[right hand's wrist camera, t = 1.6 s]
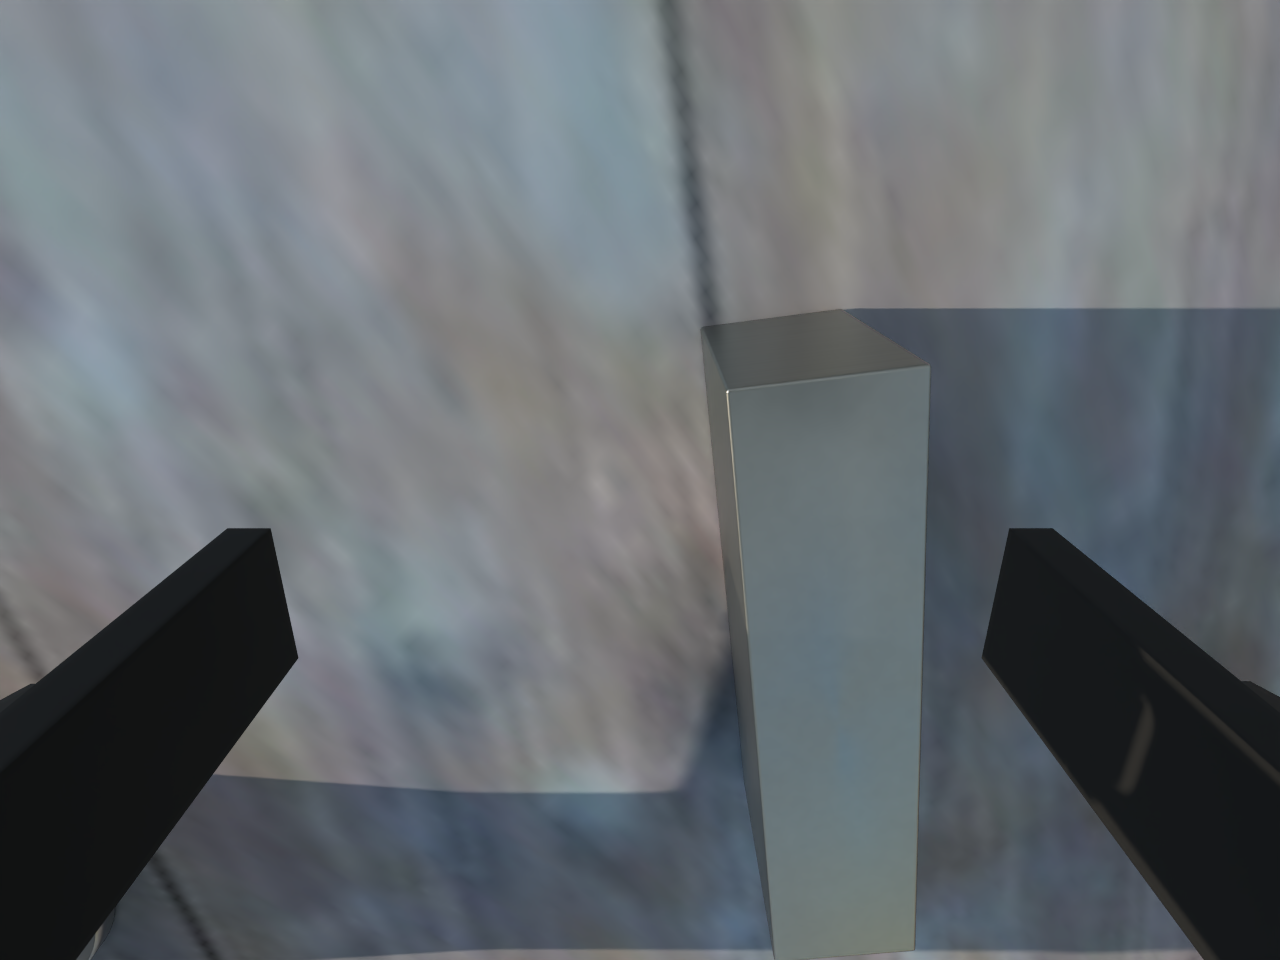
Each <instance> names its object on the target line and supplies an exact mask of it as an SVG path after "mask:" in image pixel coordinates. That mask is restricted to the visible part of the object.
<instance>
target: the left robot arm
mask: <svg viewBox="0 0 1280 960" xmlns="http://www.w3.org/2000/svg"><path fill="white" fill-rule="evenodd" d="M114 914H115V908H114V909H113V910H112V912H111V913H110V914H109V916H108V917H107V919H106V920H105V921H104V923H103V924H102V925H101V927H100V928H99V929H98V931H97V932H96V933H95V935H94V936H93V938H92V939H91V940H90V942H89V943H88V944H87V946H86V947H85V948H84V950H83V951H82V952H81V954H80V955H79V957H78V958H77V959H76V960H91V958H92V957H93V956H94V954H95V953H96V951H97V950H98V948H99V947H100V946H101V944H102V943H103V941H104V940H105V938H106V937H107V935H108V933H109V932H110V929H111V926H112V924H113V919H114Z"/></svg>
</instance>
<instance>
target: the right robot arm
mask: <svg viewBox="0 0 1280 960" xmlns="http://www.w3.org/2000/svg"><path fill="white" fill-rule="evenodd" d="M297 659H298V654H297V650H296V645H295V640H294V636H293V631H292V626H291V622H290V617H289V612H288V608H287V603H286V598H285V594H284V589H283V584H282V580H281V575H280V570H279V566H278V561H277V556H276V552H275V547H274V542H273V538H272V533H271V528H227V529H226V530H225V531H224V532H222V533H221V534H220V535H219V536H218V537H216V538H215V539H214V540H213V541H211V542H210V543H209V544H208V545H206V546H205V547H204V548H203V549H201V550H200V551H199V552H198V553H197V554H195V555H194V556H193V557H192V558H190V559H189V560H188V561H187V562H185V563H184V564H183V565H182V566H181V567H179V568H178V569H177V570H176V571H174V572H173V573H172V574H171V575H169V576H168V577H167V578H166V579H164V580H163V581H162V582H161V583H160V584H158V585H157V586H156V587H155V588H153V589H152V590H151V591H150V592H148V593H147V594H146V595H145V596H144V597H142V598H141V599H140V600H139V601H137V602H136V603H135V604H134V605H132V606H131V607H130V608H129V609H127V610H126V611H125V612H124V613H123V614H121V615H120V616H119V617H118V618H116V619H115V620H114V621H113V622H111V623H110V624H109V625H108V626H107V627H105V628H104V629H103V630H102V631H100V632H99V633H98V634H97V635H95V636H94V637H93V638H92V639H90V640H89V641H88V642H87V643H86V644H84V645H83V646H82V647H81V648H79V649H78V650H77V651H76V652H74V653H73V654H72V655H71V656H70V657H68V658H67V659H66V660H65V661H63V662H62V663H61V664H60V665H58V666H57V667H56V668H55V669H53V670H52V671H51V672H50V673H49V674H47V675H46V676H45V677H44V678H42V679H41V680H40V681H39V682H37V683H36V684H30V685H28V686H26V687H24V688H22V689H20V690H18V691H17V692H15V693H13V694H11V695H9V696H7V697H5V698H3V699H2V700H0V960H76V959H77V958H78V957H79V955H80V954H81V952H82V951H83V950H84V948H85V947H86V946H87V944H88V943H89V942H90V940H91V939H92V938H93V936H94V935H95V933H96V932H97V931H98V929H99V928H100V927H101V925H102V924H103V923H104V921H105V920H106V919H107V917H108V916H109V914H110V913H111V912H112V910H113V909H114V908H115V906H116V905H117V904H118V902H119V901H120V900H121V898H122V897H123V895H124V894H125V893H126V891H127V890H128V889H129V887H130V886H131V885H132V883H133V882H134V881H135V879H136V878H137V876H138V875H139V874H140V872H141V871H142V870H143V868H144V867H145V866H146V864H147V863H148V861H149V860H150V859H151V857H152V856H153V855H154V853H155V852H156V851H157V849H158V848H159V847H160V845H161V844H162V842H163V841H164V840H165V838H166V837H167V836H168V834H169V833H170V832H171V830H172V829H173V828H174V826H175V825H176V823H177V822H178V821H179V819H180V818H181V817H182V815H183V814H184V813H185V811H186V810H187V809H188V807H189V806H190V804H191V803H192V802H193V800H194V799H195V798H196V796H197V795H198V794H199V792H200V791H201V790H202V788H203V787H204V785H205V784H206V783H207V781H208V780H209V779H210V777H211V776H212V775H213V773H214V772H215V770H216V769H217V768H218V766H219V765H220V764H221V762H222V761H223V760H224V758H225V757H226V756H227V754H228V753H229V751H230V750H231V749H232V747H233V746H234V745H235V743H236V742H237V741H238V739H239V738H240V737H241V735H242V734H243V732H244V731H245V730H246V728H247V727H248V726H249V724H250V723H251V722H252V720H253V719H254V718H255V716H256V715H257V713H258V712H259V711H260V709H261V708H262V707H263V705H264V704H265V703H266V701H267V700H268V699H269V697H270V696H271V694H272V693H273V692H274V690H275V689H276V688H277V686H278V685H279V684H280V682H281V681H282V679H283V678H284V677H285V675H286V674H287V673H288V671H289V670H290V669H291V667H292V666H293V665H294V663H295V662H296V660H297ZM982 659H983V660H984V662H985V663H986V665H987V666H988V667H989V669H990V670H991V671H992V673H993V674H994V675H995V677H996V678H997V679H998V681H999V682H1000V684H1001V685H1002V686H1003V688H1004V689H1005V690H1006V692H1007V693H1008V694H1009V696H1010V697H1011V699H1012V700H1013V701H1014V703H1015V704H1016V705H1017V707H1018V708H1019V709H1020V711H1021V712H1022V713H1023V715H1024V716H1025V718H1026V719H1027V720H1028V722H1029V723H1030V724H1031V726H1032V727H1033V728H1034V730H1035V731H1036V732H1037V734H1038V735H1039V737H1040V738H1041V739H1042V741H1043V742H1044V743H1045V745H1046V746H1047V747H1048V749H1049V750H1050V751H1051V753H1052V754H1053V756H1054V757H1055V758H1056V760H1057V761H1058V762H1059V764H1060V765H1061V766H1062V768H1063V769H1064V770H1065V772H1066V773H1067V775H1068V776H1069V777H1070V779H1071V780H1072V781H1073V783H1074V784H1075V785H1076V787H1077V788H1078V790H1079V791H1080V792H1081V794H1082V795H1083V796H1084V798H1085V799H1086V800H1087V802H1088V803H1089V804H1090V806H1091V807H1092V809H1093V810H1094V811H1095V813H1096V814H1097V815H1098V817H1099V818H1100V819H1101V821H1102V822H1103V823H1104V825H1105V826H1106V828H1107V829H1108V830H1109V832H1110V833H1111V834H1112V836H1113V837H1114V838H1115V840H1116V841H1117V842H1118V844H1119V845H1120V847H1121V848H1122V849H1123V851H1124V852H1125V853H1126V855H1127V856H1128V857H1129V859H1130V860H1131V861H1132V863H1133V864H1134V866H1135V867H1136V868H1137V870H1138V871H1139V872H1140V874H1141V875H1142V876H1143V878H1144V879H1145V880H1146V882H1147V883H1148V885H1149V886H1150V887H1151V889H1152V890H1153V891H1154V893H1155V894H1156V895H1157V897H1158V898H1159V900H1160V901H1161V902H1162V904H1163V905H1164V906H1165V908H1166V909H1167V910H1168V912H1169V913H1170V914H1171V916H1172V917H1173V919H1174V920H1175V921H1176V923H1177V924H1178V925H1179V927H1180V928H1181V929H1182V931H1183V932H1184V933H1185V935H1186V936H1187V938H1188V939H1189V940H1190V942H1191V943H1192V944H1193V946H1194V947H1195V948H1196V950H1197V951H1198V952H1199V954H1200V955H1201V957H1202V958H1203V959H1204V960H1280V697H1279V696H1277V695H1275V694H1273V693H1271V692H1269V691H1267V690H1265V689H1264V688H1262V687H1260V686H1258V685H1256V684H1254V683H1252V682H1250V681H1240V680H1239V679H1238V678H1236V677H1235V676H1234V675H1233V674H1231V673H1230V672H1229V671H1228V670H1227V669H1225V668H1224V667H1223V666H1222V665H1220V664H1219V663H1218V662H1217V661H1215V660H1214V659H1213V658H1212V657H1210V656H1209V655H1208V654H1207V653H1206V652H1204V651H1203V650H1202V649H1201V648H1199V647H1198V646H1197V645H1196V644H1194V643H1193V642H1192V641H1191V640H1190V639H1188V638H1187V637H1186V636H1185V635H1183V634H1182V633H1181V632H1180V631H1178V630H1177V629H1176V628H1175V627H1173V626H1172V625H1171V624H1170V623H1169V622H1167V621H1166V620H1165V619H1164V618H1162V617H1161V616H1160V615H1159V614H1157V613H1156V612H1155V611H1154V610H1153V609H1151V608H1150V607H1149V606H1148V605H1146V604H1145V603H1144V602H1143V601H1141V600H1140V599H1139V598H1138V597H1136V596H1135V595H1134V594H1133V593H1132V592H1130V591H1129V590H1128V589H1127V588H1125V587H1124V586H1123V585H1122V584H1120V583H1119V582H1118V581H1117V580H1116V579H1114V578H1113V577H1112V576H1111V575H1109V574H1108V573H1107V572H1106V571H1104V570H1103V569H1102V568H1101V567H1099V566H1098V565H1097V564H1096V563H1095V562H1093V561H1092V560H1091V559H1090V558H1088V557H1087V556H1086V555H1085V554H1083V553H1082V552H1081V551H1080V550H1079V549H1077V548H1076V547H1075V546H1074V545H1072V544H1071V543H1070V542H1069V541H1067V540H1066V539H1065V538H1064V537H1062V536H1061V535H1060V534H1059V533H1058V532H1056V531H1055V530H1054V529H1053V528H1009V533H1008V538H1007V542H1006V547H1005V552H1004V556H1003V561H1002V566H1001V570H1000V575H999V580H998V584H997V589H996V594H995V598H994V603H993V608H992V612H991V617H990V622H989V626H988V631H987V636H986V640H985V645H984V650H983V654H982Z"/></svg>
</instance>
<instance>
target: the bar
mask: <svg viewBox="0 0 1280 960" xmlns="http://www.w3.org/2000/svg"><path fill="white" fill-rule="evenodd" d="M701 339H702V349H703V359H704V370H705V380H706V391H707V401H708V411H709V422H710V432H711V443H712V453H713V463H714V474H715V484H716V495H717V505H718V515H719V526H720V536H721V547H722V557H723V567H724V578H725V588H726V599H727V609H728V619H729V630H730V640H731V651H732V661H733V671H734V682H735V692H736V703H737V713H738V723H739V734H740V744H741V755H742V765H743V775H744V784H745V790H746V796H747V802H748V808H749V814H750V820H751V826H752V831H753V837H754V843H755V849H756V855H757V861H758V867H759V873H760V879H761V884H762V890H763V896H764V902H765V908H766V914H767V920H768V926H769V932H770V937H771V943H772V949H773V955H774V959H775V960H804V959H816V958H829V957H841V956H853V955H865V954H878V953H890V952H902V951H913V950H915V931H916V894H917V858H918V822H919V786H920V749H921V713H922V677H923V641H924V605H925V568H926V532H927V496H928V460H929V423H930V387H931V366H930V364H929V363H927V362H925V361H924V360H922V359H921V358H919V357H917V356H916V355H914V354H913V353H911V352H909V351H908V350H906V349H905V348H903V347H901V346H900V345H898V344H897V343H895V342H893V341H892V340H890V339H889V338H887V337H886V336H884V335H882V334H881V333H879V332H878V331H876V330H874V329H873V328H871V327H870V326H868V325H866V324H865V323H863V322H862V321H860V320H858V319H857V318H855V317H854V316H852V315H850V314H849V313H847V312H846V311H844V310H842V309H838V310H830V311H823V312H815V313H807V314H799V315H792V316H784V317H776V318H768V319H761V320H753V321H745V322H737V323H729V324H722V325H714V326H706V327H702V328H701Z"/></svg>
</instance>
